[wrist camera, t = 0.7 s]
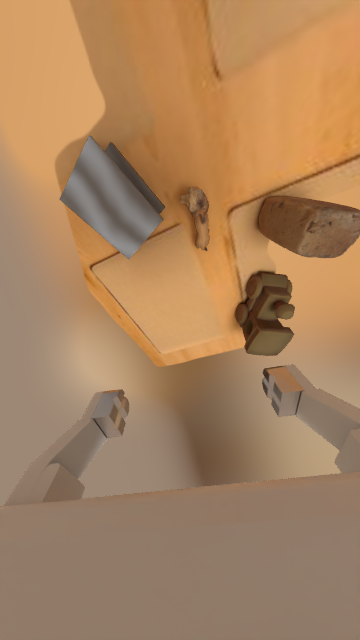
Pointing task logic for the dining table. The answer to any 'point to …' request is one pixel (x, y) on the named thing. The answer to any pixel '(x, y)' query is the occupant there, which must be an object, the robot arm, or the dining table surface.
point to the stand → (112, 198)
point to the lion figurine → (198, 214)
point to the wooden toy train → (266, 314)
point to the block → (309, 225)
